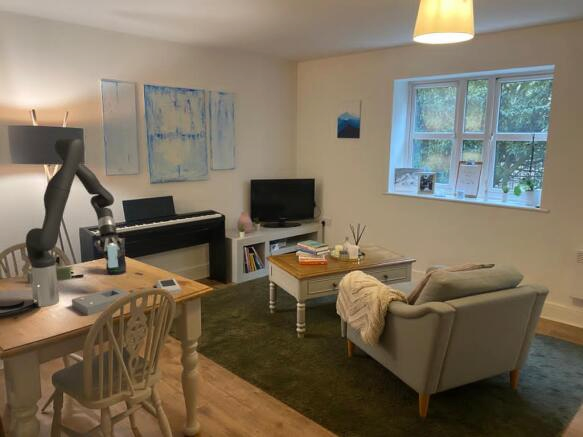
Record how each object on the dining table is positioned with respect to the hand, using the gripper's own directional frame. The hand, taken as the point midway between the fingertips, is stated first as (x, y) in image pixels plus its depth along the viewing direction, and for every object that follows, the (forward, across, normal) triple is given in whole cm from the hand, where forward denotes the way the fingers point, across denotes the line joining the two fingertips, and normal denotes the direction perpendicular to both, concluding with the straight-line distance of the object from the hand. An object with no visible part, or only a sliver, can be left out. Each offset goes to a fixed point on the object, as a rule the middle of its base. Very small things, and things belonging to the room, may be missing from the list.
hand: (113, 258), depth 205 cm
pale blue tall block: (+1, 0, +4) cm, 5 cm away
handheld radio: (-12, -23, +36) cm, 44 cm away
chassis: (+20, -7, +4) cm, 21 cm away
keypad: (+16, +23, +8) cm, 29 cm away
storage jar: (-11, +6, +35) cm, 37 cm away
